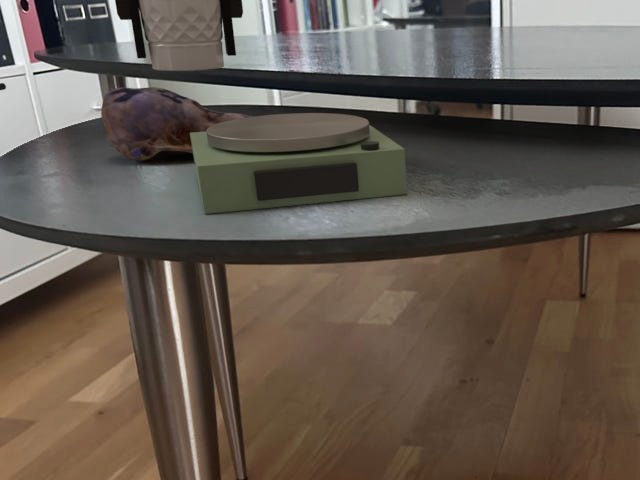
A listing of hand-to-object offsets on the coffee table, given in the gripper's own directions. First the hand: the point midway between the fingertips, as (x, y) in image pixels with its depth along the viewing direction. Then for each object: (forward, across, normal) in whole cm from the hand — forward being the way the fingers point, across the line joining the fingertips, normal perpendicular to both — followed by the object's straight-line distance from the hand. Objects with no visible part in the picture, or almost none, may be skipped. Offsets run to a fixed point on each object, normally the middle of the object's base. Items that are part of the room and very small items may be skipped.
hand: (187, 55), depth 83 cm
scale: (+6, +6, -31) cm, 32 cm away
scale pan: (+3, +5, -31) cm, 32 cm away
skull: (+7, -2, -17) cm, 19 cm away
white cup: (+1, 0, 0) cm, 1 cm away
